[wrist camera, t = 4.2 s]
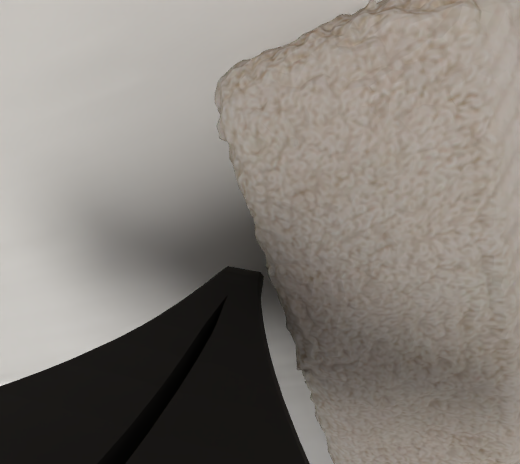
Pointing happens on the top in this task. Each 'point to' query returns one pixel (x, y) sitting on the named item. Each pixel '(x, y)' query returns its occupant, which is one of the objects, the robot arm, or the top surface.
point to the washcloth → (393, 222)
